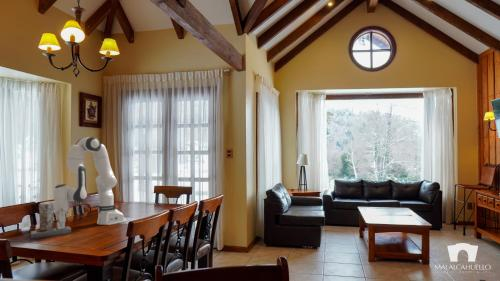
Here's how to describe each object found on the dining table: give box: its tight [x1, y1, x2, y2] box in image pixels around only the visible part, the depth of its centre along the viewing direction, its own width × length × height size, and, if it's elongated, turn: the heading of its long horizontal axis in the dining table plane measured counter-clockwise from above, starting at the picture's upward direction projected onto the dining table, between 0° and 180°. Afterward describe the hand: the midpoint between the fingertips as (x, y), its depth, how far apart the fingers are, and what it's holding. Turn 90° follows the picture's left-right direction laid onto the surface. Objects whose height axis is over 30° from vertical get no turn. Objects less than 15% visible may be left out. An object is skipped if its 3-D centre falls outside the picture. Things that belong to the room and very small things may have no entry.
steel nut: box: [56, 220, 66, 230], centre depth 251 cm, size 4×4×8 cm
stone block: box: [38, 201, 55, 230], centre depth 263 cm, size 13×7×20 cm, turn 14°
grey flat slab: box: [30, 225, 72, 239], centre depth 247 cm, size 24×10×3 cm, turn 125°
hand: (60, 226), depth 251 cm, fingers open, 7 cm apart
